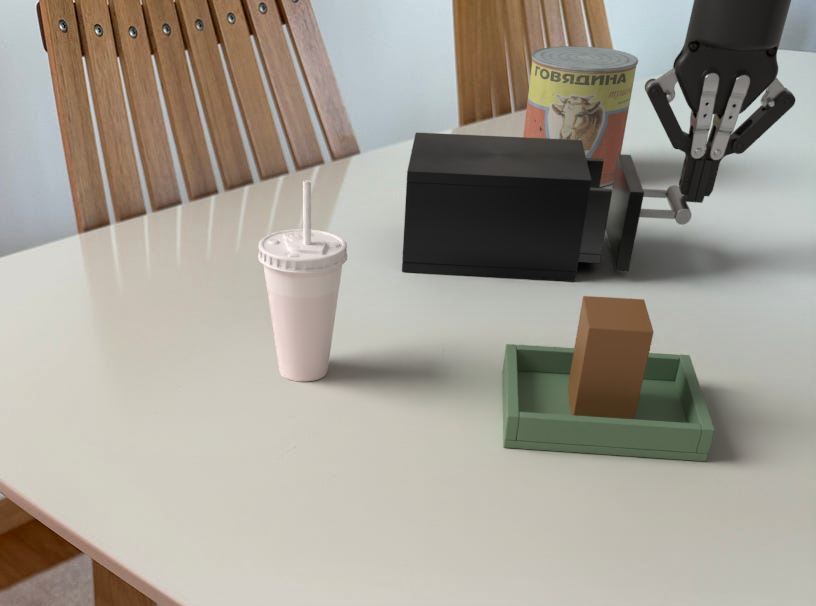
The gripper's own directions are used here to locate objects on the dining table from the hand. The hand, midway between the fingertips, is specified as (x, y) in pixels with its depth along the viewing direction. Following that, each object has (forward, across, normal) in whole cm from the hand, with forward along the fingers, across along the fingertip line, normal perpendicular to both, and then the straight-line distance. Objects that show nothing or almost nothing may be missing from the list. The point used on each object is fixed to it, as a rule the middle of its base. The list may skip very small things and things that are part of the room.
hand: (692, 199), depth 95 cm
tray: (+6, -10, -32) cm, 34 cm away
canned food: (+6, -9, +27) cm, 29 cm away
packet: (+6, -10, -32) cm, 34 cm away
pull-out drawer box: (+5, -10, 0) cm, 11 cm away
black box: (+6, -18, 0) cm, 19 cm away
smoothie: (+7, -32, -28) cm, 43 cm away
